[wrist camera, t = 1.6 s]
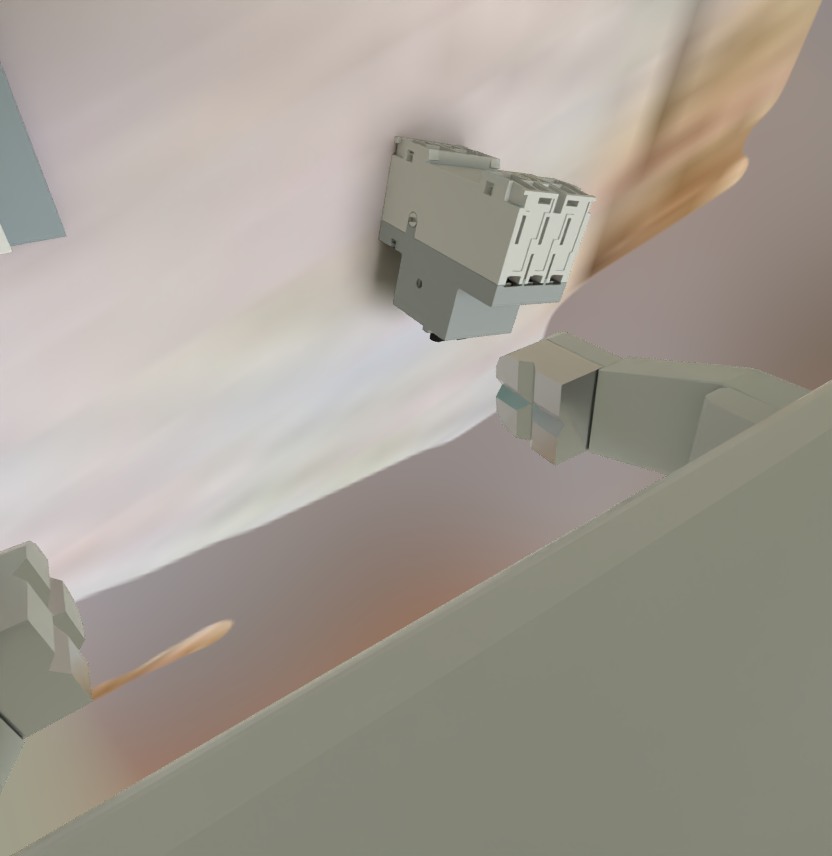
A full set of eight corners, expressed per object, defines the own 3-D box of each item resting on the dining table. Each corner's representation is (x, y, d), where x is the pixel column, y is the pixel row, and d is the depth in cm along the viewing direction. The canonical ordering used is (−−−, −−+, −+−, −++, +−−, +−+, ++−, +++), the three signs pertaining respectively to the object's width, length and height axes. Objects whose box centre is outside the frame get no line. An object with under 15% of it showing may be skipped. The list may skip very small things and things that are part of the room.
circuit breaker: (367, 304, 52) (469, 382, 43) (395, 136, 44) (526, 186, 35) (430, 301, 56) (535, 371, 47) (465, 146, 49) (598, 193, 39)
